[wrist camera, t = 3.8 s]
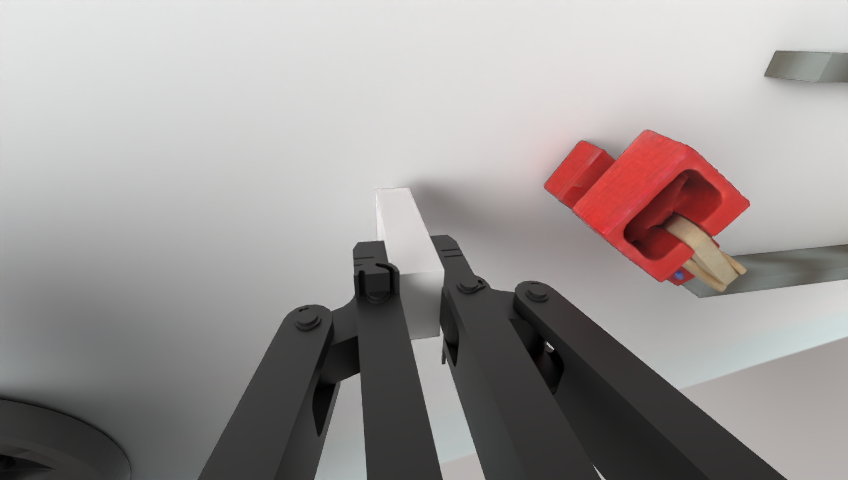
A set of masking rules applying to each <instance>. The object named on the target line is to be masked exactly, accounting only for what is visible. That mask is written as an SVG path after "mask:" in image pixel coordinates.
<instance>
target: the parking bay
mask: <svg viewBox="0 0 848 480" xmlns="http://www.w3.org/2000/svg"><path fill="white" fill-rule="evenodd" d="M765 76H769V77H777V78H786V79H795V80H804V81H813V82H848V53H830V52H801V51H776V52H775V54H774V57H773V59H772V61H771V63H770V65H769V67H768V69H767V71H766V73H765ZM731 258H732V259H734V260H735V261H737V262H738V263H739V264H741V265H742V266H743V267H745V268H746V270H747V271H746V272H745V273H744V274H742V275H739V276H738V277H737V278H736V279H734V280H733V281H732V282H731V283H730V284H728V285H727V287H726V289H725V290H724V291H723V292H719V291H717V290H715V289H714V288H712V287H710V286H708V285H706V284H705V283H704V282H702V281H701V280H699V279H698V278H697V277H696V276H695V277H694V278H692V279H691V280H689V281H687V282H685V283H683V284H681V285H683V286H684V287H685V288H687V289H688V290H689V291H691V292H692V293H693V294H695V295H696V296H697V297H699V298H703V297H711V296H719V295H727V294H735V293H742V292H750V291H758V290H766V289H774V288H782V287H790V286H798V285H806V284H814V283H821V282H829V281H837V280H845V279H848V245H839V246H829V247H819V248H810V249H800V250H790V251H780V252H770V253H761V254H751V255H741V256H731Z"/></svg>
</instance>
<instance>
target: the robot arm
mask: <svg viewBox="0 0 848 480" xmlns="http://www.w3.org/2000/svg"><path fill="white" fill-rule="evenodd" d="M376 213H377V239H378V241H371V242H358V243H357V245H356V246H355V248H354V249H353V260H354V286H355V295H354V297H353V299H352V300H351V301H350V302H349V303H348V304H347V305H345V306H344V307H341V308H339V309H337V310H334V311H331V312H330V310H329V309H327V308H326V307H324V306H320V305H305V306H302V307H299V308H296V309H295V310H293V311H292V312H290V313H289V314H288V315H287V316H286V317H285V319H284V320H283V322H282V324H281V326H280V327H279V329H278V331H277V333H276V335H275V337H274V339H273V340H272V342H271V344H270V346H269V348H268V350H267V352H266V353H265V355H264V357H263V359H262V361H261V363H260V365H259V366H258V368H257V370H256V372H255V374H254V376H253V378H252V380H251V381H250V383H249V385H248V387H247V389H246V391H245V393H244V394H243V396H242V398H241V400H240V402H239V404H238V406H237V407H236V409H235V411H234V413H233V415H232V417H231V419H230V420H229V422H228V424H227V426H226V428H225V430H224V432H223V433H222V435H221V437H220V439H219V441H218V443H217V445H216V447H215V448H214V450H213V452H212V454H211V456H210V458H209V460H208V461H207V463H206V465H205V467H204V469H203V471H202V473H201V474H200V476H199V478H198V480H314V478H315V474H316V471H317V467H318V463H319V460H320V456H321V453H322V449H323V445H324V442H325V438H326V435H327V431H328V427H329V424H330V420H331V417H332V413H333V409H334V406H335V402H336V399H337V395H338V391H339V388H340V381H342V380H344V379H346V378H349V377H351V376H353V375H355V374H358V373H360V375H361V391H362V406H363V422H364V437H365V453H366V468H367V480H443V479H442V475H441V471H440V466H439V461H438V457H437V453H436V448H435V444H434V440H433V435H432V431H431V427H430V422H429V418H428V414H427V410H426V405H425V401H424V397H423V392H422V388H421V384H420V379H419V375H418V371H417V366H416V362H415V358H414V353H413V349H412V345H411V340H413V339H421V338H429V337H436V336H439V335H440V325H441V328H442V331H443V334H444V337H443V349H442V364H445V361H446V358H447V361H448V364H449V367H450V370H451V373H452V377H453V380H454V383H455V386H456V389H457V392H458V395H459V398H460V401H461V405H462V408H463V411H464V414H465V417H466V420H467V423H468V426H469V430H470V433H471V436H472V439H473V442H474V445H475V448H476V451H477V454H478V457H479V460H480V464H481V467H482V470H483V473H484V476H485V479H486V480H601V478H600V477H599V475H598V473H597V471H596V470H595V468H594V466H595V467H596V469H597V470H598V471H599V472H600V473H601V475H602V476H603V477H604V478H605V479H606V480H787V479H786V478H784V477H783V476H782V475H781V474H780V473H778V472H777V471H776V470H775V469H773V468H772V467H771V466H770V465H769V464H767V463H766V462H765V461H764V460H763V459H761V458H760V457H759V456H758V455H756V454H755V453H754V452H753V451H751V450H750V449H749V448H748V447H746V446H745V445H744V444H743V443H742V442H740V441H739V440H738V439H737V438H736V437H734V436H733V435H732V434H731V433H729V432H728V431H727V430H726V429H725V428H723V427H722V426H721V425H720V424H718V423H717V422H716V421H715V420H714V419H712V418H711V417H710V416H709V415H707V414H706V413H705V412H704V411H703V410H701V409H700V408H699V407H698V406H696V405H695V404H694V403H693V402H691V401H690V400H689V399H687V397H685V396H684V395H683V394H682V393H680V392H679V391H678V390H677V389H676V388H674V387H673V386H672V385H671V384H669V383H668V382H667V381H666V380H665V379H663V378H662V377H661V376H660V375H658V374H657V373H656V372H655V371H654V370H652V369H651V368H650V367H649V366H647V365H646V364H645V363H644V362H643V361H641V360H640V359H639V358H638V357H636V356H635V355H634V354H633V353H632V352H630V351H629V350H628V349H627V348H625V347H624V346H623V345H622V344H621V343H619V342H618V341H617V340H616V339H614V338H613V337H612V336H611V335H610V334H608V333H607V332H606V331H605V330H603V329H602V328H601V327H600V326H598V325H597V324H596V323H595V322H594V321H592V320H591V319H590V318H589V317H587V316H586V315H585V314H584V313H583V312H581V311H580V310H579V309H578V308H576V307H575V306H574V305H573V304H572V303H570V302H569V301H568V300H567V299H565V298H564V297H563V296H562V295H561V294H559V293H558V292H557V291H556V290H554V289H553V288H552V287H550V286H548V285H547V284H544V283H541V282H537V281H525V282H522V283H520V284H518V285H517V287H516V288H515V292H507V291H499V290H494V289H491V288H490V286H489V284H488V283H487V282H486V281H485V280H484V279H482V278H480V277H479V276H475V275H474V273H473V272H472V270H471V268H470V266H469V264H468V262H467V261H466V259H465V257H464V256H463V253H462V251H461V250H460V248H459V246H458V244H457V242H456V241H455V240H454V239H452V238H451V237H449V236H448V235H440V236H429V234H428V231H427V229H426V227H425V224H424V222H423V220H422V217H421V215H420V213H419V210H418V208H417V206H416V204H415V201H414V199H413V197H412V194H411V192H410V190H409V188H390V189H376ZM547 342H548V343H549V344H550V345H551V346H552V347H553V348H554V350H552V349H551V348H550V347H549V346H548V345H547V344H546V343H547ZM591 462H592V463H591ZM593 465H594V466H593ZM130 479H131V469H130V465H129V462H128V460H127V458H126V456H125V454H124V453H123V452H122V450H121V449H120V448H119V447H118V446H117V445H116V444H115V443H114V442H113V441H112V440H110V439H109V438H108V437H107V436H105V435H104V434H102V433H101V432H99V431H98V430H96V429H94V428H92V427H90V426H89V425H87V424H85V423H82V422H80V421H78V420H76V419H73V418H71V417H68V416H66V415H63V414H60V413H57V412H54V411H51V410H48V409H44V408H40V407H36V406H32V405H28V404H23V403H18V402H13V401H7V400H0V480H130Z"/></svg>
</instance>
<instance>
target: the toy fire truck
mask: <svg viewBox="0 0 848 480" xmlns="http://www.w3.org/2000/svg"><path fill="white" fill-rule="evenodd" d="M544 188H545V189H546V190H547V191H548V192H550V193H551V194H552V195H554V196H555V197H556V198H557V199H558V200H559V201H560V202H562V203H563V204H565V205H566V206H567V207H569V208H570V209H572V211H573V212H574V213H575V214H576V215H577V216H578V217H579V218H581V219H582V221H583V222H585V223H586V224H587V225H588V226H589V227H590V228H591V229H592V230H593V231H594V232H595V233H597V234H599V235H600V236H601V237H602V238H604V239H605V240H606V241H607V242H609V243H610V244H611V245H612V246H613V247H615V248H616V249H617V250H618V251H620V252H621V253H622V254H623V255H625V256H626V257H627V258H629V259H630V260H631V261H632V262H634V263H635V264H636V265H638V266H639V267H640V268H642V269H643V270H644V271H646V272H647V273H648V274H649V275H651V276H652V277H653V278H655V279H656V280H657V281H659V282H663V281H664V280H665V279H667V280H669V281H670V282H672V283H673V284H674V285H677V286H679V285H681V284H683V283H685V282H687V281H689V280H691V279H692V278H694V277H695V276H696V277H697V278H698V279H699V280H701V281H702V282H704V283H705V284H706V285H708V286H710V287H712V288H714V289H715V290H717V291H719V292H723V291H724V290H725V289H726V287H727V285H728V284H730V283H731V282H732V281H733V280H734V279H736V278H737V277H738V276H739V275H742V274H744V273H745V272H746V271H747V270H746V268H745V267H743V266H742V265H741V264H739V263H738V262H737V261H735V260H734V259H732V258H731V257H730V256H728V255H727V254H725V253H724V252H722V251H721V250H719V244H718V243H717V242H716V241H715V240H713V239H712V238H711V237H712V236H715V235H717V234H718V233H719V232H721V231H722V230H723V229H724V228H725V227H726V226H728V225H729V224H730V223H731V222H732V221H733V220H734V219H736V218H737V217H738V216H739V215H740V214H741V213H742V212H743V211H745V210H746V209H747V208H748V207H749V206H750V203H749V200H747V199H746V198H745V197H744V196H742V195H741V194H740V192H739V191H738V190H736V188H735V187H734V186H733V185H732V184H731V183H730V182H729V181H727V180H726V179H725V177H724V176H723V175H722V174H720V173H719V172H718V170H717V169H715V168H714V167H713V166H712V165H711V164H710V163H708V162H707V161H706V160H705V159H704V158H703V157H702V156H701V155H700V154H699V153H698V152H697V151H696V150H694V149H693V148H691V147H690V146H688V145H685V144H683V143H681V142H677V141H674V140H672V139H670V138H668V137H664V136H662V135H660V134H657V133H656V132H654V131H651V130H644V131H643V132H642V133H641V134H640V135H639V136H638V137H637V138H636V139H635V140H634V141H633V143H632V144H631V145H630V146H629V148H627V149H626V150H625V151H624V153H623V154H622V155H621V156H620V157H619V158H618V159H617V160H616V161H615V160H614V159H613V158H612V157H610V156H609V155H608V154H607V153H606V151H605V150H603V149H600V148H598V147H596V146H594V145H591V144H589V143H587V142H585V141H580V142H579V143H578V144H577V145H576V147H575V148H574V149H573V150H572V151H571V153H570V154H569V155H568V156H567V158H566V159H565V160H564V161H563V162H562V164H561V165H560V166H559V167H558V169H557V170H556V171H555V172H554V173H553V175H552V176H551V177H550V178H549V180H548V181H547V182H546V183H545V185H544Z"/></svg>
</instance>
